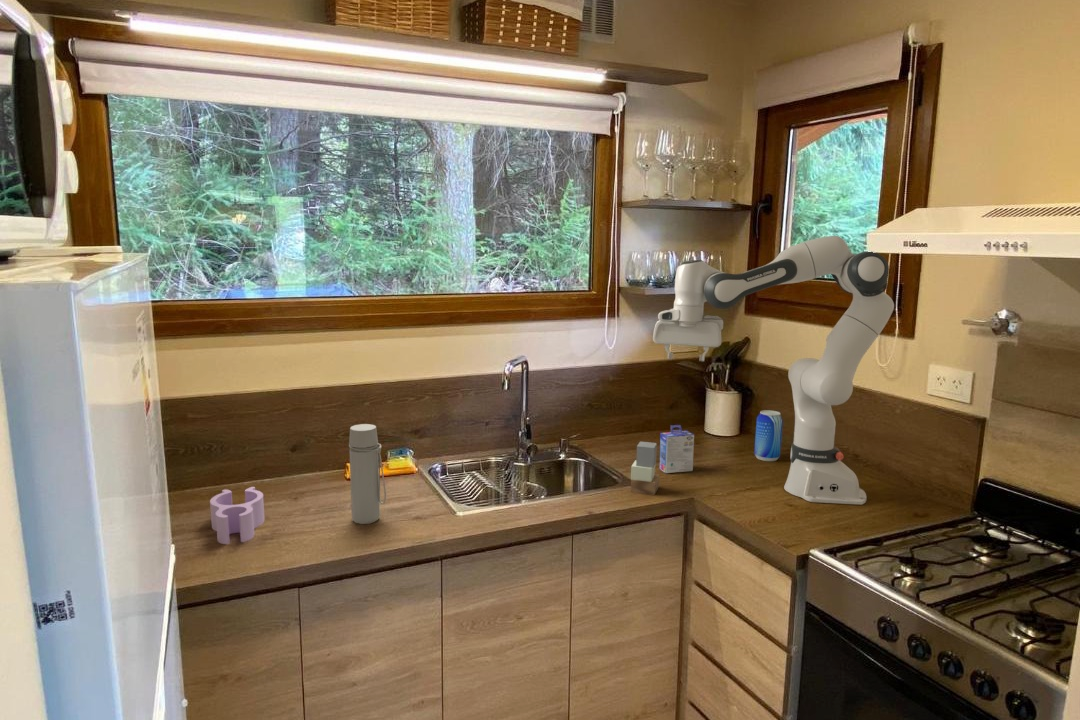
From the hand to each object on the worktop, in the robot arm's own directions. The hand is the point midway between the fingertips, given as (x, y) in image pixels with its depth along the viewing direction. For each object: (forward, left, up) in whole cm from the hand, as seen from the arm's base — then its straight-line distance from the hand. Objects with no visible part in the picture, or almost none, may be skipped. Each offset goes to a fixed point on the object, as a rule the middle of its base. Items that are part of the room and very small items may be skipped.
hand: (685, 359), depth 213 cm
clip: (+102, +77, -38) cm, 133 cm away
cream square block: (+9, +15, -33) cm, 38 cm away
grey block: (+8, +15, -29) cm, 34 cm away
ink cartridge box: (+2, -6, -37) cm, 38 cm away
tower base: (+8, +15, -37) cm, 41 cm away
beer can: (-26, -29, -37) cm, 54 cm away
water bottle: (+73, +62, -37) cm, 103 cm away
